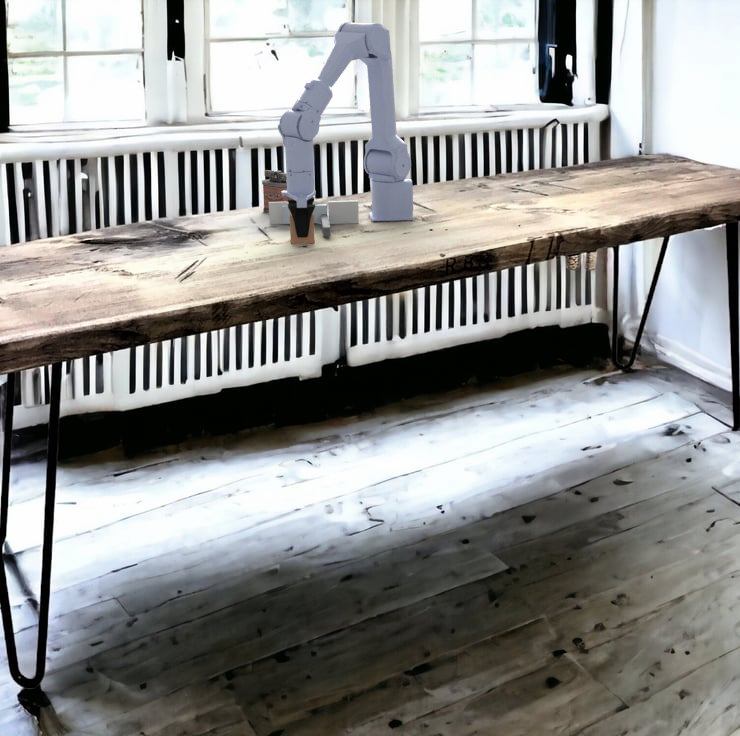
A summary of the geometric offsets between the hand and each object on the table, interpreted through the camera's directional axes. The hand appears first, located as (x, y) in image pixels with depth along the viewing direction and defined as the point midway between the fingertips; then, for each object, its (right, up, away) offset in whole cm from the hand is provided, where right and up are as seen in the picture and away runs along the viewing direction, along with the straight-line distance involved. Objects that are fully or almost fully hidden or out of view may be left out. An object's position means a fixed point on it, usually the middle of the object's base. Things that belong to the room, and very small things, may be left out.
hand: (302, 234), depth 218 cm
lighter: (-7, +8, +25) cm, 28 cm away
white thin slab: (+2, +4, +15) cm, 16 cm away
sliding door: (0, +2, +9) cm, 9 cm away
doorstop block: (0, -1, +1) cm, 1 cm away
